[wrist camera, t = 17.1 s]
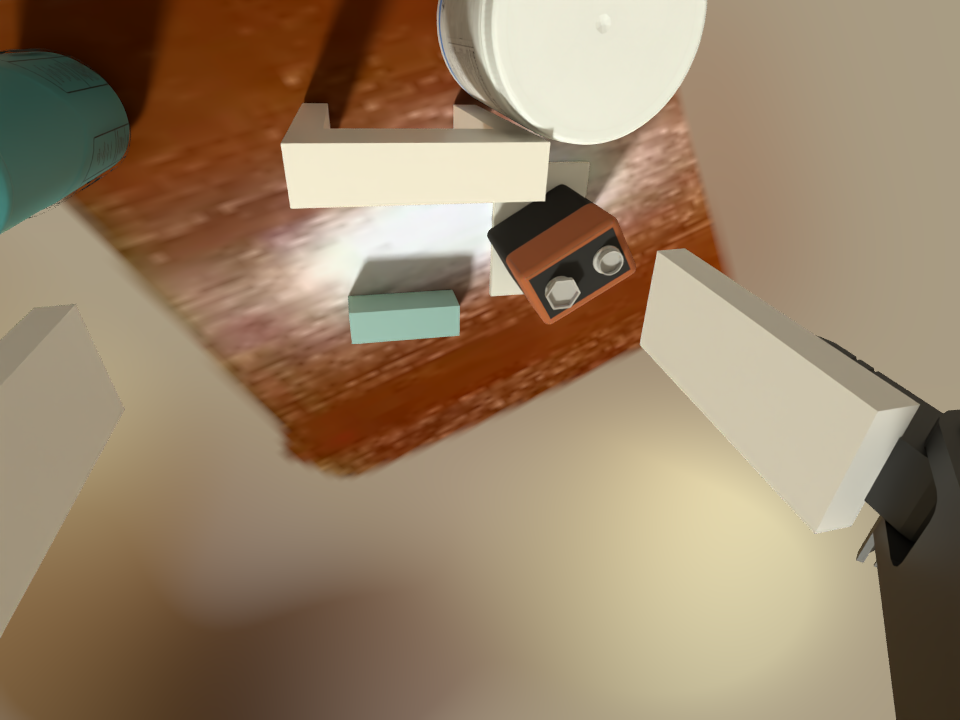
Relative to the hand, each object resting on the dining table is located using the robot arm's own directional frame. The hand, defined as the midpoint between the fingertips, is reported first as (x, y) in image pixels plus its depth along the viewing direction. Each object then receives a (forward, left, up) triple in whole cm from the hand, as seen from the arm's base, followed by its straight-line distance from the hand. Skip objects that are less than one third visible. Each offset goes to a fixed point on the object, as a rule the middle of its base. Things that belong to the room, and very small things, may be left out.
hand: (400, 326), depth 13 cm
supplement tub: (-7, +10, -27) cm, 29 cm away
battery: (+6, +12, -26) cm, 30 cm away
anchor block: (+12, +2, -27) cm, 29 cm away
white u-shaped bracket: (-1, +2, -27) cm, 27 cm away
